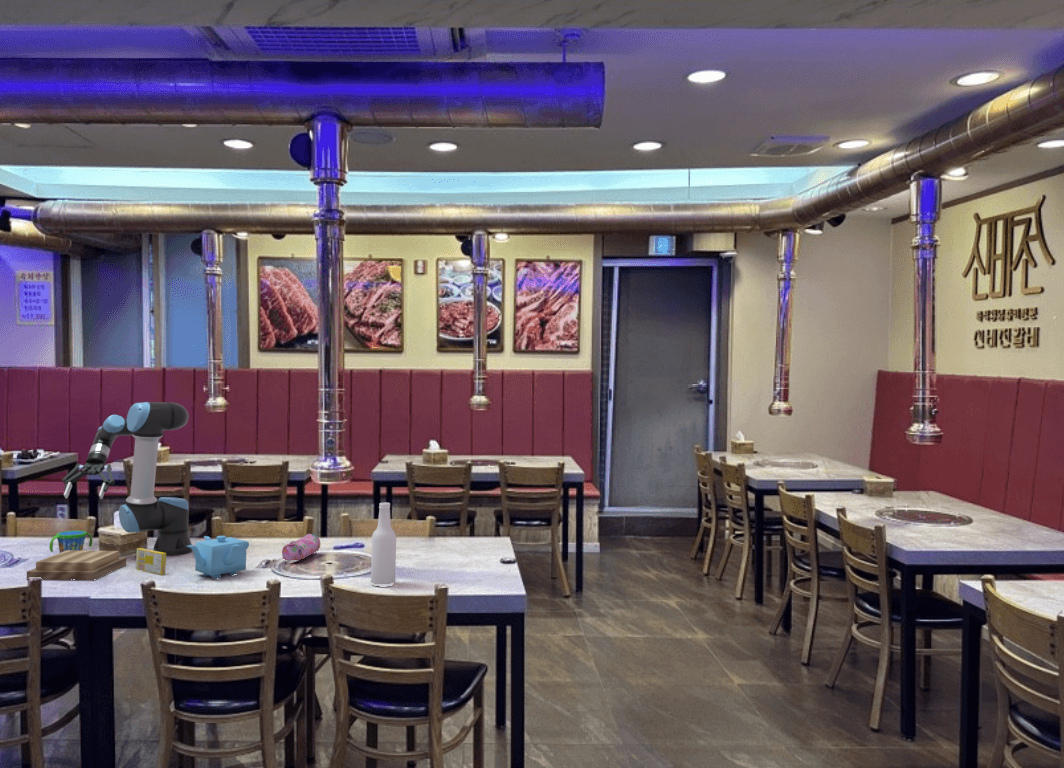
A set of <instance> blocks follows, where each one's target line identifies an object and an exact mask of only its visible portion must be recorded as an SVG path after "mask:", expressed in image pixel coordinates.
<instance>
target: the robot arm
mask: <svg viewBox="0 0 1064 768" xmlns="http://www.w3.org/2000/svg"><path fill="white" fill-rule="evenodd" d="M188 421H189V412H188V410H187V409H186V407H185V406H183V405H181V404H179V403H176V402H172V401H171V402H170V401H168V402H167V401H166V402H165V401H164V402H158V401H154V402H153V401H152V402H149V401H144V402H135V403H134V404H132V405H131V406H130V407H129V409H128V411H127V415H126V418H124V417H123V416H121V415H118V414H112V415H110V416H108V417H107V418H106V419H105V420H104V421H103V424H102V425H101V426H99V427H98V429H97V431H96V433H95V437H94V439H93V442H92V445H91V446H90V450H89V452H88V455H87V458H86V461H85V464H80V463H76V464H75V466H74V468H72V469H71V470H70V472H68V473H67V474H66V475H65V476H64V477H63V478H62V479H61V481H62V482H63V484H64V487H63V490H64V493H63V496H64V499H68V498H69V496H70V492H71V490H72V488H73V484H74V483H76V482H77V481H78V480H80V479H82V478H84V477H86V476H97V475H98V476H99V477H100V478H101V479H102V481H103V482H102V484H101V488H100V491H99V494H98V497H99V499H100V500H103V498H104V495H105V493H107V492H108V490H109V487H110V486H114V485H115V484H116V483H115V479H114V477H113V473H112V469H113V467H112V465H111V464H107V465H106V463H107V459H108V458H109V455H110V452H111V449H112V446H113V444H114V442H115V440H116V439H117V438H118V437H120V436H121V437H123V436H132V437H133V438H134V448H133V449H134V451H133V462H132V474H131V486H130V495H129V496H127V498H126V499H125V504H122V505H120V506H119V509H118V518H119V523H120V525H121V528H122V529H123V530H124V531H125V532H126V533H129V534H131V533H132V534H133V533H140V532H141V533H143V532H148V531H155V530H157V531H158V532H157V537H156V540H155V542H154V545H153V549H152V550H153V551H158V552H163V553H166V557H168V556H180V555H184V554H185V555H186V554H189V552H190V553H191V552H193V550H192V549H191V548H189V547H187V546H189V545H193V544H192V542H191V538H190V535H189V516H190V514H189V511H190V509H189V507H190V506H189V501H188V500H187V499H186V498H179V497H172V496H171V497H169V496H168V497H167V496H164V497H159V498H157V497H156V496H155V487H156V486H155V484H156V473H157V462H158V461H157V460H158V452H159V451H158V450H159V449H158V448H159V441H160V439H161V438H163V436H164V431H175V430H179V429H182V428H183V427H185V426H186V425H187V423H188ZM103 471H106V472H107V474H108V477H109V479H108V478H107V477H106V475H105V474H104V473H103Z"/></svg>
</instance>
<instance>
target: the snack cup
mask: <svg viewBox="0 0 1064 768" xmlns="http://www.w3.org/2000/svg"><path fill="white" fill-rule="evenodd" d="M86 536H88V537H89V541H88V547H89V548H91V547H92V546H93V537H92V535H91V533H88V532H87V531H85V530H67V531H60V532H57V533H56V535H54V536H52V538H51V540H50V542H49V546H48V547H49V551H50V552H51V553H53V552H54V541H55V540H56V539H57V542H58V543H57V544H58V550H59V553H61V552H64V551H66V550H81V551H84V546H85V545H84V544H85V540H86Z"/></svg>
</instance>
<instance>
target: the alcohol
mask: <svg viewBox="0 0 1064 768" xmlns="http://www.w3.org/2000/svg"><path fill="white" fill-rule="evenodd" d="M390 508H391V503H390V502H385V501H384V502H380V503H379V506H378V509H379V510H378V511H379V512H378V519H377V528H376V529H375V530H374V531H373V533H372V536H371V557H370V559H371V562H370V566H371V567H370V568H371V569H370V583H371V582H372V583H374V584H390V583H393V582H395V583H396V567H397V566H396V565H397V564H396V563H397V562H396V561H397V559H396V558H397V535H396V532H395V531H394V530H393V528H392V524H391V509H390Z"/></svg>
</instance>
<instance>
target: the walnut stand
mask: <svg viewBox="0 0 1064 768" xmlns="http://www.w3.org/2000/svg"><path fill="white" fill-rule="evenodd" d="M119 555H120V551H119V550H83V551H81V550H66V551H64V552H61V553H60V552H59V553H57V554H54V555H51V556H48V557H46V558H44V559H41V560H40V559H39V560H38V561H36V562H35V568H33V569H30V570H27V571H26V580H27V579H28V578H29V577H41V578H42V579H43V580H42V581H89V580H94V579H96V580H98V579H100V578H102V577H104V576H106V575H105V574H107V573H109V572H111V571H113V572H114V570H115V571H117V570H119V569H121V568H124V567H125V566H127V557H122V556H121V557H120V556H119ZM120 567H121V568H120ZM118 568H119V569H118ZM116 569H117V570H116ZM111 573H112V572H111ZM109 574H110V573H109ZM103 575H104V576H103ZM107 575H108V574H107ZM101 576H102V577H101ZM99 577H100V578H99ZM97 578H98V579H97ZM71 579H72V580H71ZM73 579H75V580H73ZM94 581H95V580H94Z"/></svg>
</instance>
